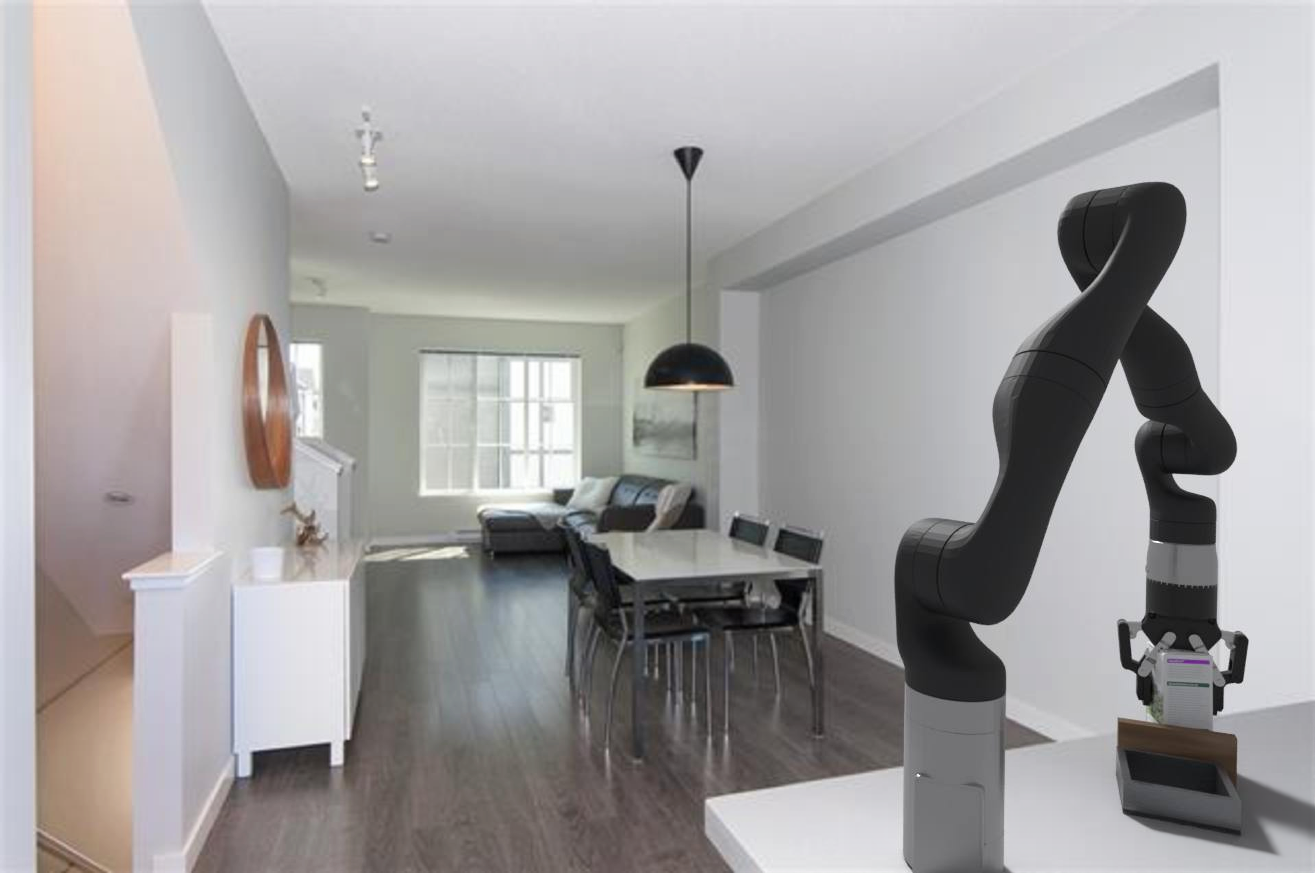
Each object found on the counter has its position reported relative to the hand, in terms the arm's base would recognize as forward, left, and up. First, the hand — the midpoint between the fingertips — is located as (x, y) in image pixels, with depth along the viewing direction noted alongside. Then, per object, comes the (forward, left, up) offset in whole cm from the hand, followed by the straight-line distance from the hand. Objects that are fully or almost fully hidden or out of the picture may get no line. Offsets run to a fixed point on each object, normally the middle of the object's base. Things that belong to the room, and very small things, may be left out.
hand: (1178, 708), depth 100 cm
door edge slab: (-5, +1, -7) cm, 9 cm away
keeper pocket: (-13, +2, -7) cm, 15 cm away
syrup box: (0, 0, -7) cm, 7 cm away
